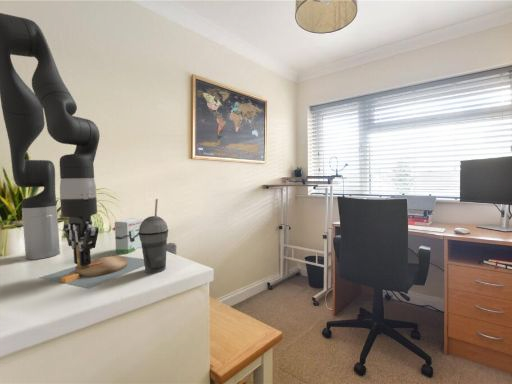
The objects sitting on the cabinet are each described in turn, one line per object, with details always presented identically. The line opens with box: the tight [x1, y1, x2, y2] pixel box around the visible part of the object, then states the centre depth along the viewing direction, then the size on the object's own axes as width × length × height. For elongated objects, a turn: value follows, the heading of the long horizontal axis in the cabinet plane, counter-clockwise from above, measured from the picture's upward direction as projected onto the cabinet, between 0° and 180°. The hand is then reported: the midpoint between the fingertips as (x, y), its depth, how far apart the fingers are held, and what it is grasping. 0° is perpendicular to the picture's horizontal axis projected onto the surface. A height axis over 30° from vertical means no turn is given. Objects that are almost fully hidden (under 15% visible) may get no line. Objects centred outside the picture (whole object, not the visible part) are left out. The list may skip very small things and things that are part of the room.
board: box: [39, 254, 145, 289], centre depth 69 cm, size 19×20×2 cm
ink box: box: [114, 218, 144, 255], centre depth 88 cm, size 9×5×12 cm, turn 168°
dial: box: [74, 245, 127, 277], centre depth 69 cm, size 12×12×8 cm
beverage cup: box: [138, 198, 169, 274], centre depth 66 cm, size 7×7×20 cm
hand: (82, 263), depth 65 cm, fingers closed on dial, 2 cm apart
